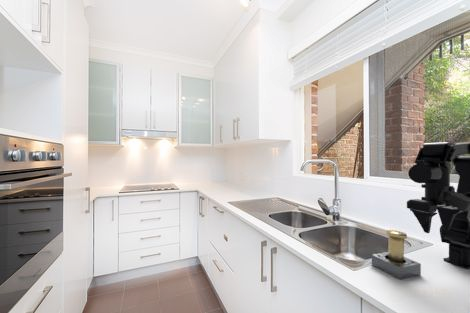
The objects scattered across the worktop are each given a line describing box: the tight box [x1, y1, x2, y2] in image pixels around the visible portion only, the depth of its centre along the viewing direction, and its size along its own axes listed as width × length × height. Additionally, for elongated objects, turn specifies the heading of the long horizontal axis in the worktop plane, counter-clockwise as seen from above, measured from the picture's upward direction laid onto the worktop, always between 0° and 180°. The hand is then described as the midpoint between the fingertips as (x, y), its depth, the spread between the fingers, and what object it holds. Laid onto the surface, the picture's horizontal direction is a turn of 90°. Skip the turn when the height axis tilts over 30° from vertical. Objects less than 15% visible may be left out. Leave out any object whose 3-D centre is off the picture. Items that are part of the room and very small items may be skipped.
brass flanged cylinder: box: [385, 229, 408, 263], centre depth 68 cm, size 5×5×12 cm
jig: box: [371, 251, 422, 281], centre depth 68 cm, size 9×9×4 cm
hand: (436, 231), depth 67 cm, fingers open, 9 cm apart
